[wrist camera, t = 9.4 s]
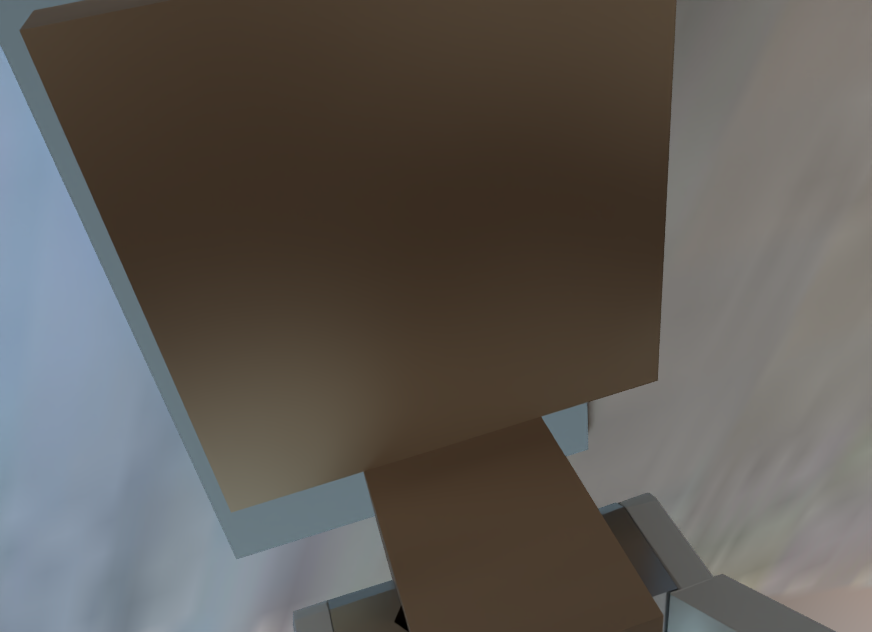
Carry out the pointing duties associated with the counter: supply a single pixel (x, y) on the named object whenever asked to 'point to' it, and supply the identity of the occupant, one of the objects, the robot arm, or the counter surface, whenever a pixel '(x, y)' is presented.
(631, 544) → the robot arm
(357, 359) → the tan stepped block
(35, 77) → the tool rest mat
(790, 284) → the counter surface
